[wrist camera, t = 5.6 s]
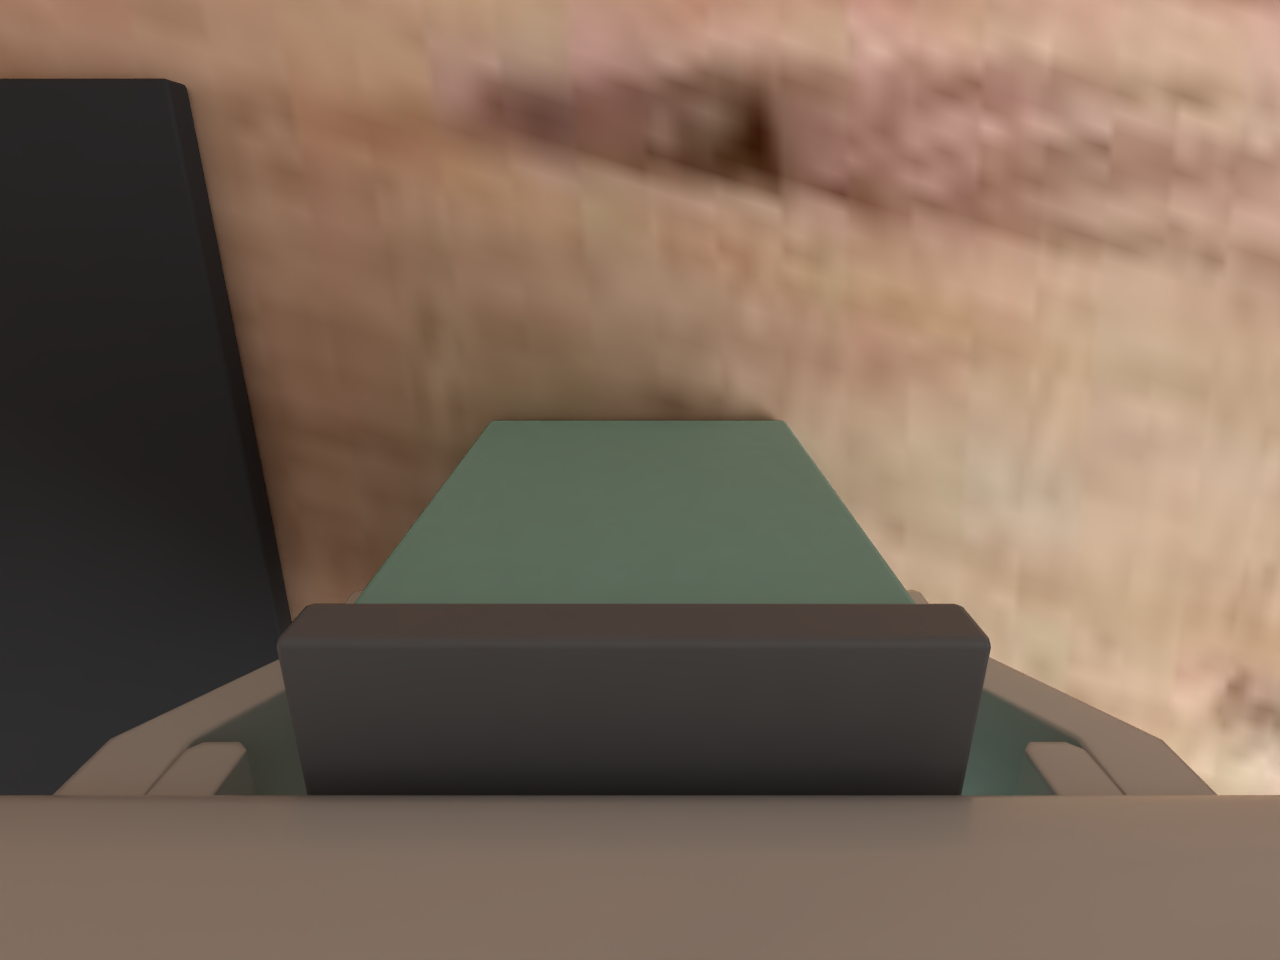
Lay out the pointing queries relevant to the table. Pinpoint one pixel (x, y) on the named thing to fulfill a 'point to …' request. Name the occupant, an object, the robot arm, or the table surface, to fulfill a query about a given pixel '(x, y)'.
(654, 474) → the green block grey end
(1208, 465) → the table surface
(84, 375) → the mat
